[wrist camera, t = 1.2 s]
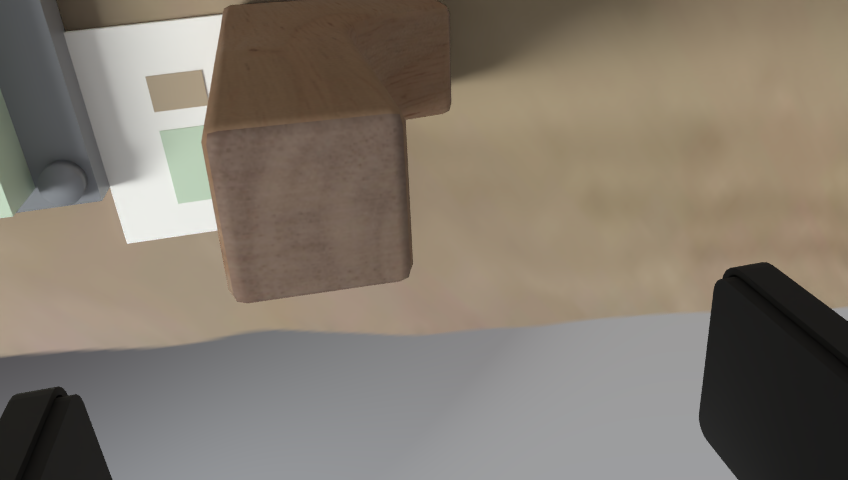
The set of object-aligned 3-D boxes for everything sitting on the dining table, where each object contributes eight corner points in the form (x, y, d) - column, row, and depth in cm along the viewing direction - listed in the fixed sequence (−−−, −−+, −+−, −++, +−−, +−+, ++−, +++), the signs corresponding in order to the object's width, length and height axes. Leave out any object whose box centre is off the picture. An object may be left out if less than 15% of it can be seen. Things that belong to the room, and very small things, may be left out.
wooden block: (426, -11, 32) (599, 88, 17) (430, 88, 34) (587, 260, 19) (220, 4, 31) (196, 129, 15) (237, 107, 33) (230, 312, 17)
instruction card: (256, 10, 31) (255, 11, 31) (293, 216, 36) (293, 219, 36) (65, 31, 30) (62, 33, 30) (128, 240, 35) (126, 244, 35)
